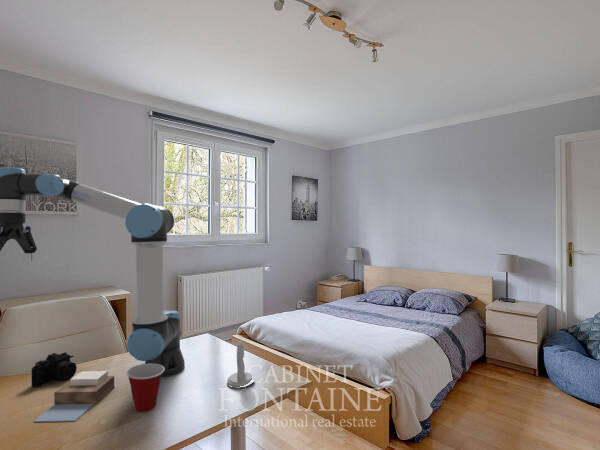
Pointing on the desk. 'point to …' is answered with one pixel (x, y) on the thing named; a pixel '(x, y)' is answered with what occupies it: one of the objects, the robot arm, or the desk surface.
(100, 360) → the desk surface
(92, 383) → the white rectangular block
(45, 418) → the mat
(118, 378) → the desk surface
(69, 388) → the brown wooden flat block
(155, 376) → the plastic cup
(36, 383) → the film camera
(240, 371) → the grey stemmed stand
